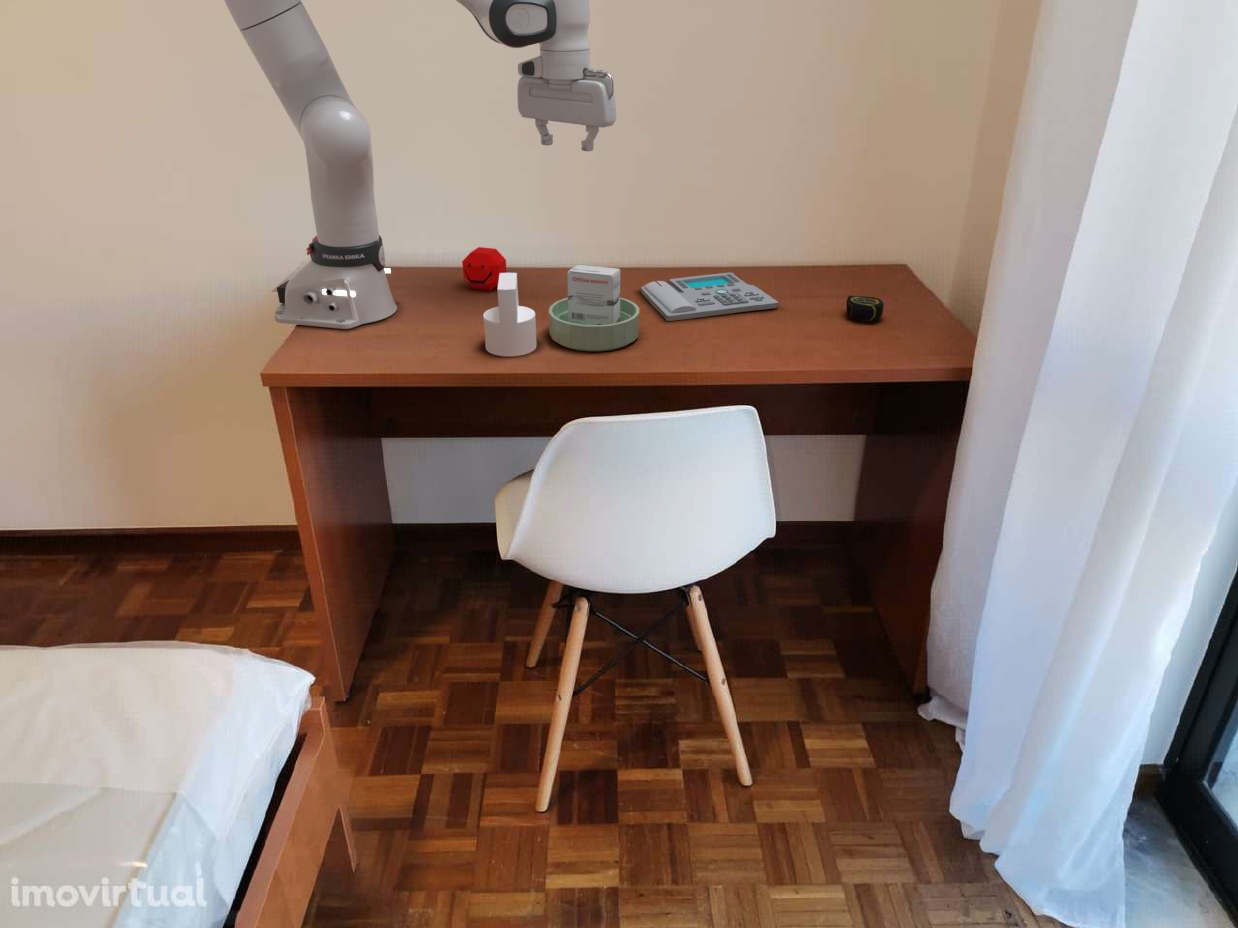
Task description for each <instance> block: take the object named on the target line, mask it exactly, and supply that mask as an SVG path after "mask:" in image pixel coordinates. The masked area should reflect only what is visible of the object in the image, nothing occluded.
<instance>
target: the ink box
mask: <svg viewBox="0 0 1238 928" xmlns="http://www.w3.org/2000/svg"><path fill="white" fill-rule="evenodd" d="M566 274H567V298H568V319H569V322H570V323H574V324H581V325H607V324H614V323H618V322H620V298H621V269H620V268H616V267H606V266H595V265H594V266H593V265H583V264H576V265H574V266H572V267H571V268H570V269H569V270H568V271H567V273H566Z"/></svg>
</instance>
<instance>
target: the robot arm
mask: <svg viewBox="0 0 1238 928" xmlns="http://www.w3.org/2000/svg"><path fill="white" fill-rule="evenodd" d="M223 1H224V3H225V5H226V7H227V9H228V11H229V13H230V15H231V17H232V19H233V21H234V23H235V25H236V26H237V28H238V30H239V32H240V34H241V35H242V38H243V39H244V41H245V42H246V44H247V46H248V48H249V49H250V51H251V53H252V54H253V55H252V56H254V59H255V60H256V62H257V63H258V65H259V67H260V69H261V71H262V72H263V74H264V76H265V78H266V79H267V81H268V83H269V85H270V87H271V88H272V89H273V91H274V93H275V95H276V96H277V99H278V100H279V101H280V103H281V105H282V107H283V108H284V110H285V112H286V114H287V116H288V117H289V119H290V121H291V123H292V124H293V127H294V128H295V129H296V131H297V133H298V135H299V137H300V138H301V140H302V142H303V145H304V149H305V157H306V163H307V164H306V165H307V170H308V182H309V190H310V200H311V207H312V214H313V219H314V225H315V232H316V235H315V236H314V237H313V238H312V241H311V242H310V243H309V244H308V247H307V248H306V249H305V251H306V255H307V256H310V260H309V261H308V262H307V263H306V264H304V266H302V267H301V268H300V269H299V270H298V271H296V273H295V274H294V275H292V277H291V278H289V279H288V280H286V281H285V282H283V283H281V284H280V285H278V286H277V287H276V291H277V297H278V302H279V305H278V307H276V309H275V312H274V320H275V321H276V323H280V324H288V325H289V324H290V325H299V326H307V327H308V326H310V327H318V328H319V327H320V328H330V329H337V330H338V329H339V330H340V329H341V330H349V329H353V328H356V327H359V326H361V325H364V324H365V325H366V324H369V323H374V322H378V321H381V320H384V319H386V318H389V317H391V316H393V314H395V313H396V312H397V310H398V306H397V303H396V302H395V298H394V296H393V294H392V292H391V288H390V285H389V281H388V278H387V277H388V276H387V274H392V273H391V272H392V271H391V268H385V267H386V255H385V247H384V244H383V237H382V236H381V235H380V232H379V223H378V216H377V208H376V199H375V183H374V181H375V180H374V159H373V145H372V133H371V128H370V125H369V122H368V121H367V119H366V118H365V116H364V114H363V113H361V111H360V110H359V109H358V108H357V106H355V104H354V102H353V101H352V99H351V97H350V95H349V94H348V91H347V89H346V88H345V85H344V83H343V80H342V79H341V77H340V75H339V73H338V70H337V68H336V67H335V65H334V62H333V60H332V58H331V56H330V53H329V50H328V48H327V47H326V45H325V42H324V41H323V40H322V37H321V36H320V34H319V32H318V30H317V28H316V25H314V23H313V20H312V19H311V16H310V15H309V13H308V10H307V9H306V7H305V5H304V4H303V2H302V0H223ZM455 1H456V2H457V3H459V4H460V5H462V7H464V8H465V9H466V10H467V11H469V12H470V13H471V14H472V16H473V17H474V20H475V21H476V23H477V24H478V26H479V28H480V29H481V31H482V32H483V33H484V34H485V35H486V36H487V37H488V38H489V39H490V40H491V41H493V42H495V43H497V44H500V45H503V46H505V47H508V48H513V49H522V48H526V47H528V46H532V45H533V46H534V45H536V44H539V56H535V57H533V58H530V59H527V60H524V61H521V62H519V63H518V65H517V73H518V75H519V76H521V77H520V78H519V79H518V81H517V82H518V83H517V91H516V92H517V96H516V97H517V110H518V112H519V114H520V116H521V117H522V118H525V119H532V120H533V119H534V124H535V127H536V129H537V132H538V133H539V135H540V144H541V145H542V146H547V147H548V146H552V145H553V144H554V140H553V139H554V135H553V134H551V133H550V131H549V129H548V126H547V125H549V122H557V123H565V124H572V125H579V126H580V125H581V126H585V132H587V134H586V138H585V139H584V140H581V141H580V143H581V151H584V152H588V153H589V152H593V151H594V149H595V147H594V144H595V143H594V141H595V139H596V137H597V135H598V133H599V132H600V128H603V129H604V128H607V127H608V128H609V127H612V126H613V125H614V124H615V122H616V121H617V105H616V97H615V81H614V78H613V77H612V75H611V74H610V73H609V72H608V71H606V70H605V69H599V70H598V69H594V68H591V45H590V42H589V41H590V40H589V36H588V33H589V26H590V21H591V18H590V17H591V15H590V0H455Z"/></svg>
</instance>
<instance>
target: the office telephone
mask: <svg viewBox="0 0 1238 928" xmlns="http://www.w3.org/2000/svg"><path fill="white" fill-rule="evenodd" d="M640 293H641V294H642V296H643V297H644V298H645V299H646V301H648V302H649V304H650V305H651V306H652V307H653V308H654V309H655V310H656V311H657V312H658V313H659V315H661V316H662V317H663V318H664V319H665V320H666V321H667V322H673V321H682V320H690V319H697V318H698V319H699V318H706V317H713V316H722V315H728V314H729V315H730V314H736V313H744V312H752V311H753V312H754V311H762V310H771V309H778V307H779V302H778V301H777V300H776V299H775V298H774V297H772V296H770V295H769V294H767V292H764V291H763V290H762V289H761V288H758V287H757V286H755V284H754V285H753V284H748V283H746V282H745V281H744V280H742V279H741V278H739V277H738V276H736V275H735V274H734V272H722V273H712V274H704V275H695V276H685V277H677V278H670V279H669V280H668V282H666V281H664V280H654V281H651V282H648V283H647V284H644V285H643V286H641V287H640Z"/></svg>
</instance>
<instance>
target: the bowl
mask: <svg viewBox="0 0 1238 928" xmlns="http://www.w3.org/2000/svg"><path fill="white" fill-rule="evenodd" d="M548 333H549V334H548V335H549V336H550V338H551V340H552V341H554V342H556V343H557V344H559V345H560V346H562V347H565V348H568V349H571V350H575V351H580V352H581V351H582V352H607V351H614V350H617V349H621V348H624V347H626V346H628V345H630V344H631V343H633V342H635V341H636V340H637V339H638V338H639V335H640V307H639V306H638V305H637V303H635V302H633V301H631V300H629V299H627V298H623V297H620V322H618V323H614V324H607V325H581V324H574V323H570V322H569V319H568V297H564V298H562V299H560V300H557V301H555V302H554V303H552V304H551V305H550V306H549V308H548Z"/></svg>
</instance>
